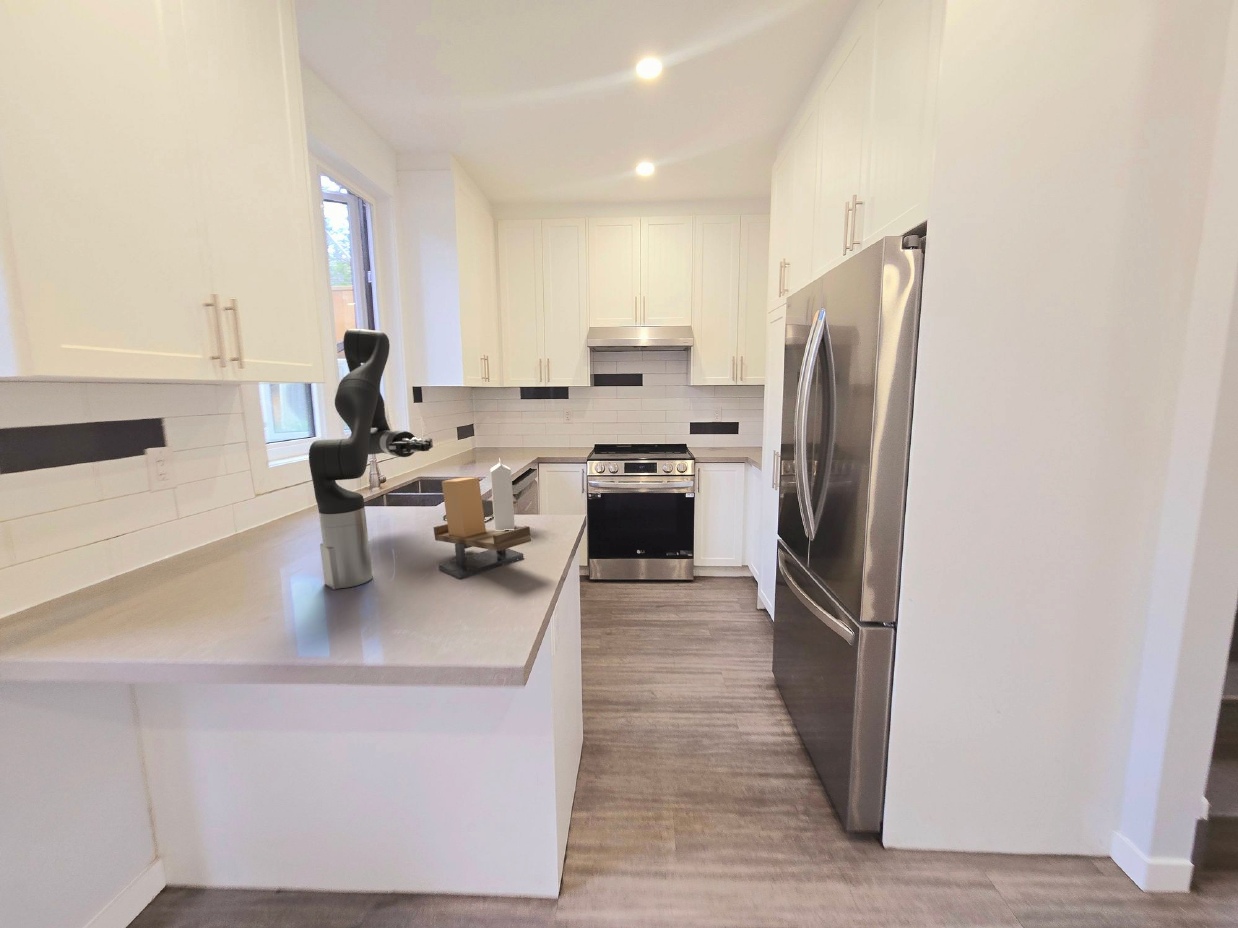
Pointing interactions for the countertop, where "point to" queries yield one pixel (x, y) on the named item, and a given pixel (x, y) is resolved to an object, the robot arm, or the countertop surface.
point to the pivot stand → (477, 561)
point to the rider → (463, 506)
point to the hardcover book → (488, 508)
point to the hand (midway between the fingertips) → (426, 447)
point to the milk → (502, 497)
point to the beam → (486, 538)
